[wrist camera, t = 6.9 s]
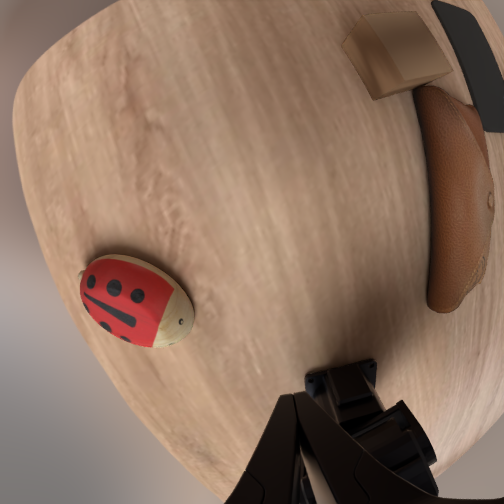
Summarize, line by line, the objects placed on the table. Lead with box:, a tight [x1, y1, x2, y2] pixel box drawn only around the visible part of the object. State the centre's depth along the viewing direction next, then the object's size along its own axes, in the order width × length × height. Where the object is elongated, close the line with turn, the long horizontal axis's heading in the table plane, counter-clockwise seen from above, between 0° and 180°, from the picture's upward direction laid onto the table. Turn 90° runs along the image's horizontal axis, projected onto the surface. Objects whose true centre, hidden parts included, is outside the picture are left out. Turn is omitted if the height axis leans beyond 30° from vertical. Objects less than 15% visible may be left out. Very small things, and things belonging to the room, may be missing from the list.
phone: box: [431, 0, 504, 133], centre depth 15 cm, size 7×1×15 cm
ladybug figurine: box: [78, 254, 194, 348], centre depth 19 cm, size 7×10×4 cm
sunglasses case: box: [413, 86, 495, 313], centre depth 17 cm, size 18×7×7 cm
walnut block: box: [342, 11, 453, 101], centre depth 13 cm, size 5×5×5 cm
